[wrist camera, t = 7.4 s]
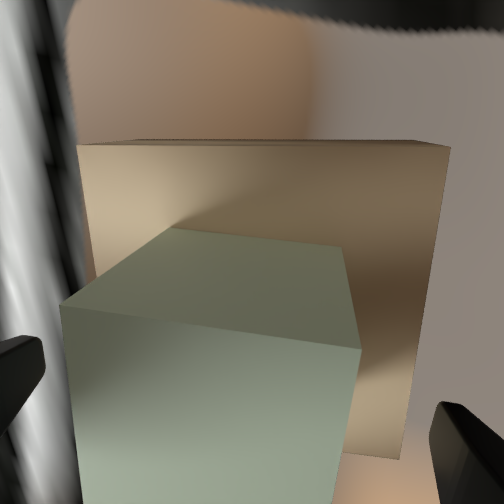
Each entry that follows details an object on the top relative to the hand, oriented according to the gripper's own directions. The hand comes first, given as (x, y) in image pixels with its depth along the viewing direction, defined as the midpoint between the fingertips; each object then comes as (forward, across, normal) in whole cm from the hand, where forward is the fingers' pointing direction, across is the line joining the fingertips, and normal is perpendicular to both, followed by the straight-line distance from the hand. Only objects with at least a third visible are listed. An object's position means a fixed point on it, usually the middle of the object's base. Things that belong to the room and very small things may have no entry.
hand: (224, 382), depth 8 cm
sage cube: (+3, 0, 0) cm, 3 cm away
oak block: (+7, 0, 0) cm, 7 cm away
